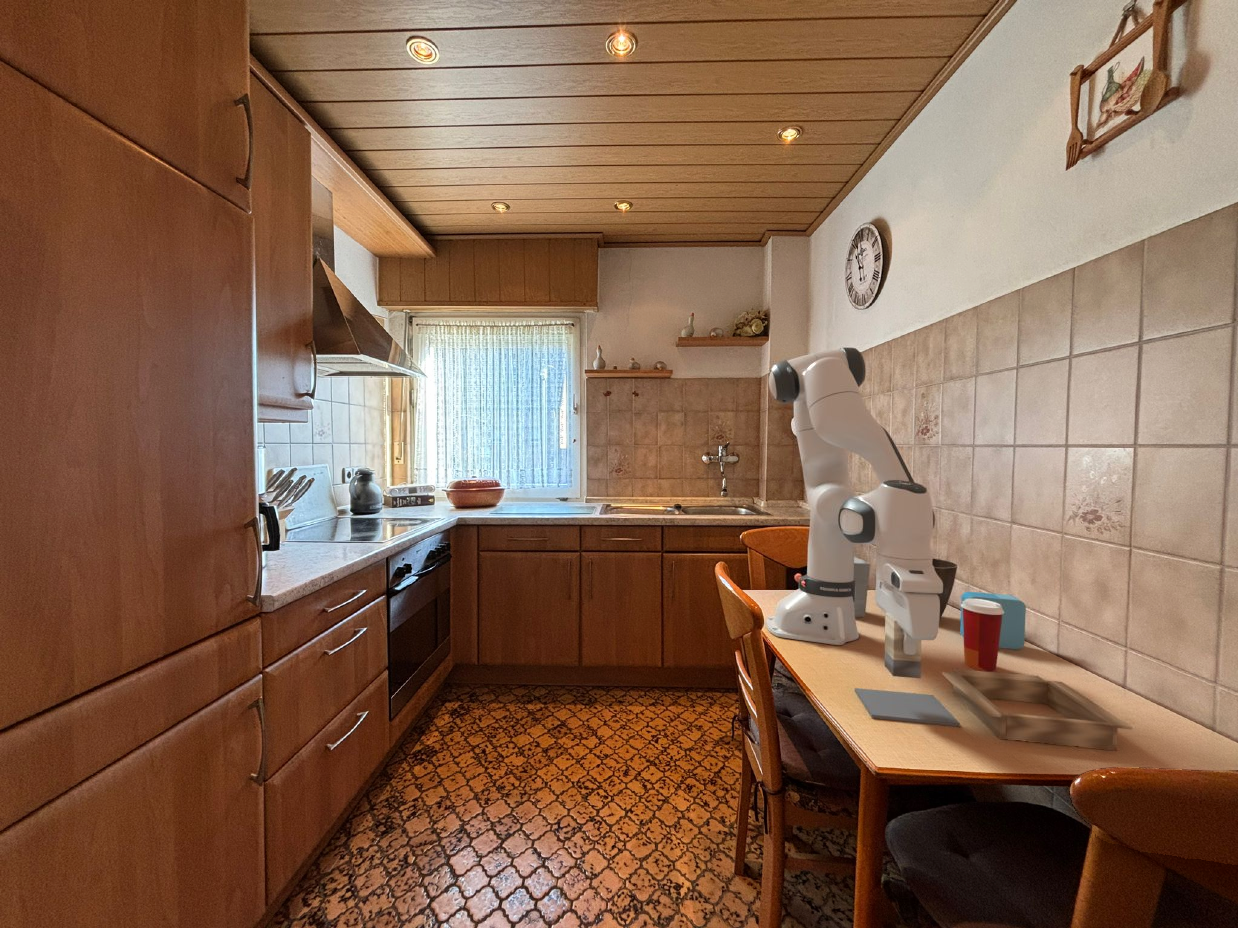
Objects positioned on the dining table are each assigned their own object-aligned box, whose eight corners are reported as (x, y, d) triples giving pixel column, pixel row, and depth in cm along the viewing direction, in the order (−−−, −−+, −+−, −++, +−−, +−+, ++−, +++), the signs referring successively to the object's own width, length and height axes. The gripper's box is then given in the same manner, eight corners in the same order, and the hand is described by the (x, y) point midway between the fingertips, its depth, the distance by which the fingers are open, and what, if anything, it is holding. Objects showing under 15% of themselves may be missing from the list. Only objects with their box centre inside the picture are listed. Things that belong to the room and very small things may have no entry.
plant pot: (883, 615, 144) (885, 559, 144) (908, 606, 153) (909, 554, 153) (941, 630, 132) (944, 570, 132) (964, 620, 141) (966, 563, 141)
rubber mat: (871, 717, 88) (872, 714, 88) (854, 690, 98) (854, 687, 97) (959, 726, 85) (959, 722, 85) (932, 697, 95) (933, 694, 95)
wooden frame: (987, 738, 82) (988, 714, 82) (936, 687, 100) (937, 667, 99) (1132, 752, 79) (1134, 727, 78) (1053, 697, 96) (1054, 677, 96)
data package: (1016, 643, 124) (1018, 595, 123) (1024, 650, 120) (1026, 600, 119) (959, 637, 127) (961, 590, 127) (965, 643, 123) (967, 595, 123)
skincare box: (829, 608, 150) (831, 555, 149) (852, 607, 150) (854, 555, 150) (844, 617, 141) (846, 561, 141) (869, 617, 142) (871, 561, 141)
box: (893, 676, 89) (894, 620, 89) (884, 665, 94) (885, 612, 94) (920, 678, 89) (921, 622, 88) (910, 667, 93) (911, 613, 93)
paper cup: (1004, 666, 110) (1006, 603, 110) (999, 677, 105) (1002, 610, 104) (961, 655, 116) (963, 595, 115) (955, 665, 110) (957, 602, 110)
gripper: (867, 558, 102) (866, 625, 102) (905, 584, 81) (904, 668, 82) (901, 559, 100) (900, 627, 101) (948, 586, 80) (946, 671, 81)
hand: (902, 646), depth 91 cm, fingers closed on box, 4 cm apart
